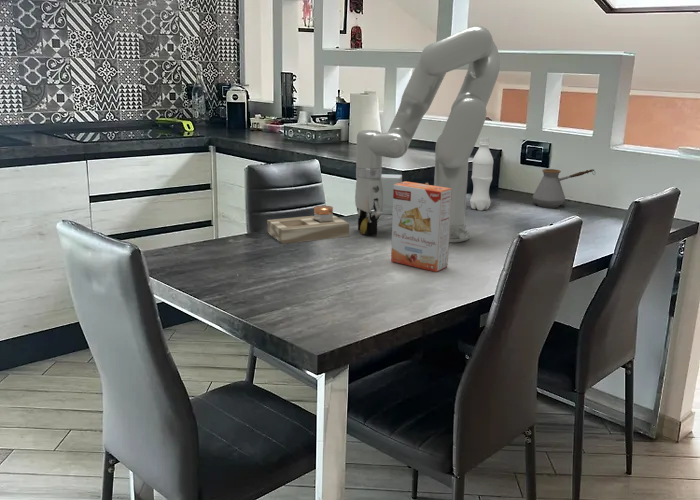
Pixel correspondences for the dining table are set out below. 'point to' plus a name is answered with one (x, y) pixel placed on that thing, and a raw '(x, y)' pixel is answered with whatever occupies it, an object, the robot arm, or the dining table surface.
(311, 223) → the mount
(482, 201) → the water bottle
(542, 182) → the coffee pot
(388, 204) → the supplement box
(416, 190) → the cracker box
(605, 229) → the dining table surface
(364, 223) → the knob
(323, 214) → the plunger
